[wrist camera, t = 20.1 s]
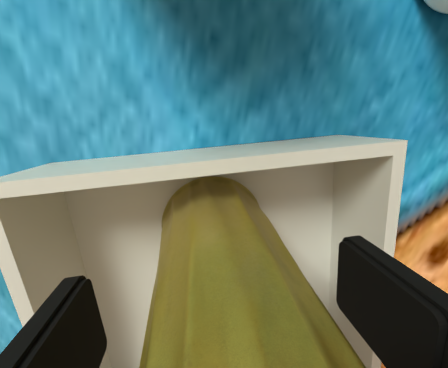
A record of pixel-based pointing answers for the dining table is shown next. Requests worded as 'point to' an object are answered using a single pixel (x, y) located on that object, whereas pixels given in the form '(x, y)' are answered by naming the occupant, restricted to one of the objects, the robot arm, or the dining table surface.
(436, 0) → the drinking glass
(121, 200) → the box
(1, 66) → the dining table surface
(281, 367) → the vase
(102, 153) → the dining table surface
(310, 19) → the dining table surface
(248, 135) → the dining table surface
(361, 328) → the robot arm
